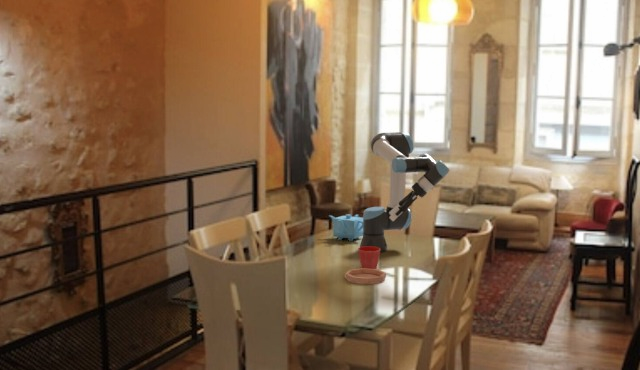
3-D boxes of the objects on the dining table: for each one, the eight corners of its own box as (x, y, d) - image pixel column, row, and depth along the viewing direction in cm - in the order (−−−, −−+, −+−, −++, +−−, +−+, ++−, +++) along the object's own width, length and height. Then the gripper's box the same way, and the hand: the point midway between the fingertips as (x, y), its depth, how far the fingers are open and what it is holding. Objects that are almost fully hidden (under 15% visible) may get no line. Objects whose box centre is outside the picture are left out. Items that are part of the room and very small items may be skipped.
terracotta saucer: (372, 272, 328) (372, 266, 328) (392, 281, 312) (392, 275, 312) (339, 276, 321) (339, 270, 320) (357, 286, 304) (358, 280, 304)
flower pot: (378, 270, 331) (379, 251, 330) (356, 269, 333) (356, 250, 332) (381, 265, 342) (381, 246, 340) (359, 264, 344) (359, 245, 342)
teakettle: (367, 241, 399) (367, 216, 397) (337, 242, 394) (337, 217, 392) (357, 234, 417) (357, 211, 415) (328, 236, 412) (328, 212, 410)
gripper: (429, 196, 318) (396, 227, 321) (425, 189, 343) (395, 218, 346) (418, 184, 318) (385, 215, 321) (415, 178, 342) (385, 207, 346)
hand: (390, 217), depth 333 cm, fingers open, 13 cm apart
